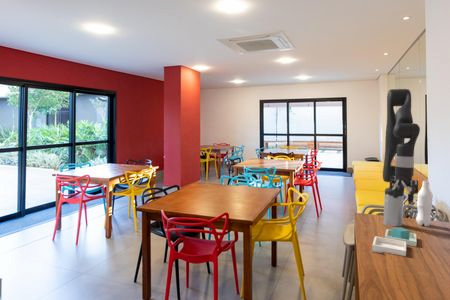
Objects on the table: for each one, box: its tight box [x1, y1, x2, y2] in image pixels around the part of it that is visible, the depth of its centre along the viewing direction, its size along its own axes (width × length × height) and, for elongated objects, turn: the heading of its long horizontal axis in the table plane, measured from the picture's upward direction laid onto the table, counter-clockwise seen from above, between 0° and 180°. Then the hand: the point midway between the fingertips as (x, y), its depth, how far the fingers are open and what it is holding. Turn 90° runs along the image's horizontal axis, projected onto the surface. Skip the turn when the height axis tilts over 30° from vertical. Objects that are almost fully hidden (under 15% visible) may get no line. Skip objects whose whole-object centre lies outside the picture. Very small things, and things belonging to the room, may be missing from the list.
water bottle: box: [415, 180, 434, 227], centre depth 169 cm, size 7×7×25 cm
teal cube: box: [391, 226, 411, 240], centre depth 144 cm, size 5×5×5 cm
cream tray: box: [371, 236, 407, 257], centre depth 134 cm, size 13×13×3 cm
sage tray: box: [384, 228, 417, 247], centre depth 144 cm, size 13×13×3 cm
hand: (402, 199), depth 143 cm, fingers open, 8 cm apart
